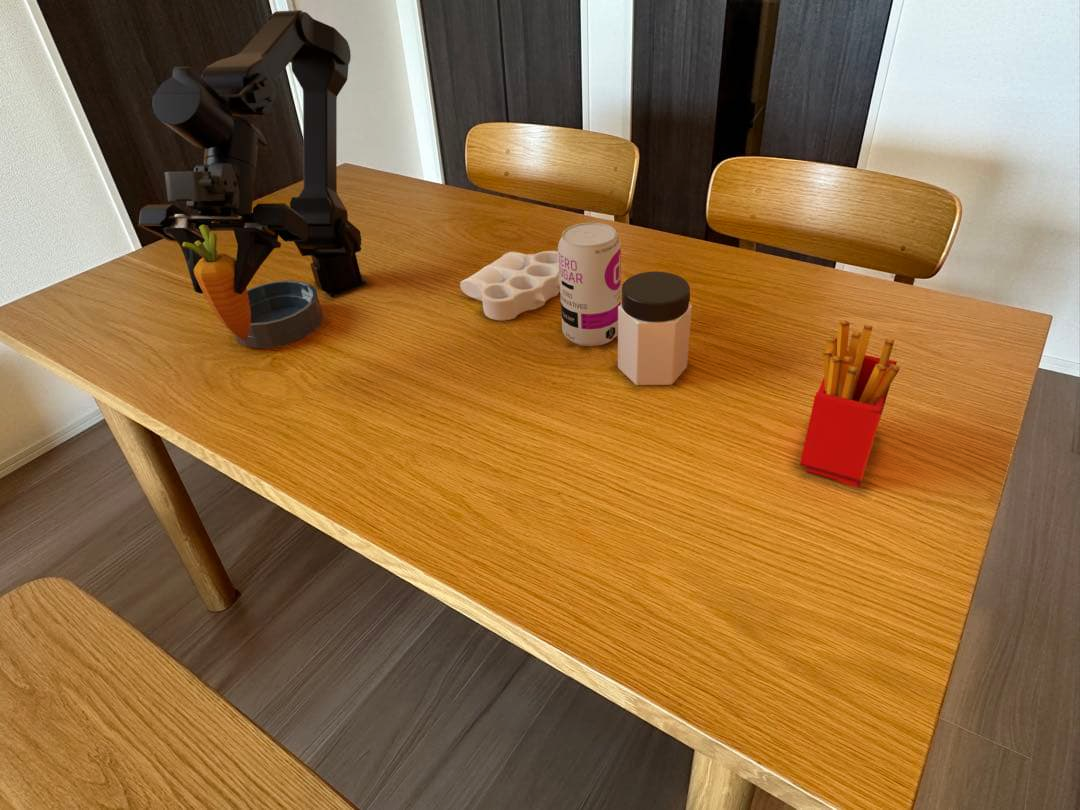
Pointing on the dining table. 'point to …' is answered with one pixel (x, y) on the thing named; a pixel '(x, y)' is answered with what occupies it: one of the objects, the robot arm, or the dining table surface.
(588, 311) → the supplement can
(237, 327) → the carrot
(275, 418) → the dining table surface
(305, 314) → the bowl
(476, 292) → the white holed block
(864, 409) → the french fries container
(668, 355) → the jar
